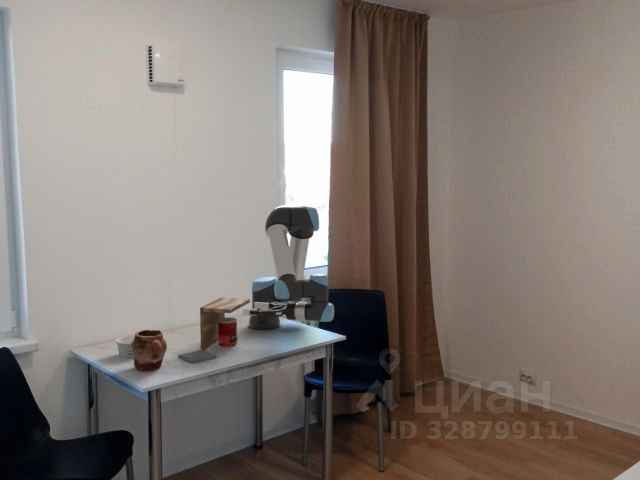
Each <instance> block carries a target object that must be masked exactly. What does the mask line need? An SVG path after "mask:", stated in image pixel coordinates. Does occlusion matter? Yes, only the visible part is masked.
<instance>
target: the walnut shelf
mask: <svg viewBox="0 0 640 480" xmlns="http://www.w3.org/2000/svg"><path fill="white" fill-rule="evenodd" d="M250 301H251V300H250V298H234V297H220V298H217V299H215V300H214V301H211V302H209V303H207V304H205V305H202V306H200V307H199V316H200V317H199V318H200V320H199V323H200V324H199V325H200V329H199V331H200V332H199V333H200V334H199V335H200V350H204V351H206V350H207V349H209V348H210V347H211V346H213V345H215V344H217V343H219V336H218V320H219V319H221V318H226V314H231V313H234V312H235V311H237V310H239V309H241V308H242V307H243V308H244V307H245V306H246V305H248V304H249V303H250Z"/></svg>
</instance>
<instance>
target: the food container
mask: <svg viewBox="0 0 640 480" xmlns="http://www.w3.org/2000/svg"><path fill="white" fill-rule="evenodd" d="M134 338H135V335H128V336H122V337H119V338H116V340H115V343H116V345H117V349H118V354H119V357H120V358H122V359H134V356H135V354H134V352H133V349H132V347H131V343H132V341H133V340H134Z"/></svg>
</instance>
